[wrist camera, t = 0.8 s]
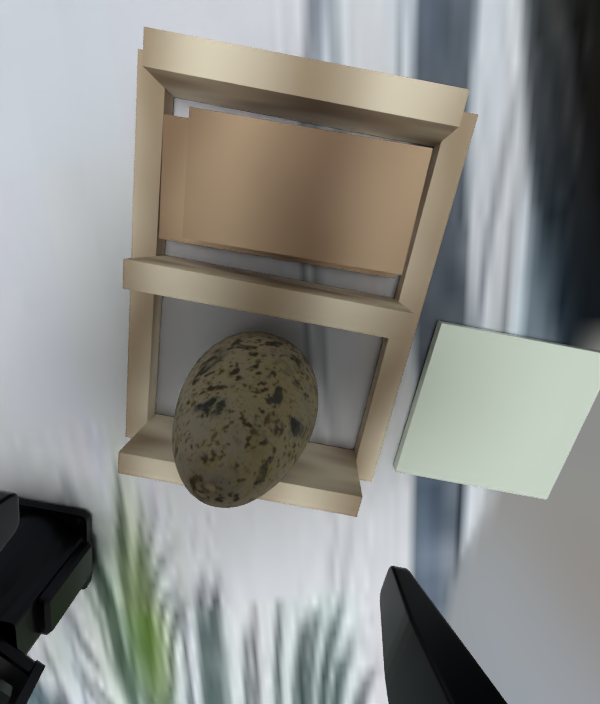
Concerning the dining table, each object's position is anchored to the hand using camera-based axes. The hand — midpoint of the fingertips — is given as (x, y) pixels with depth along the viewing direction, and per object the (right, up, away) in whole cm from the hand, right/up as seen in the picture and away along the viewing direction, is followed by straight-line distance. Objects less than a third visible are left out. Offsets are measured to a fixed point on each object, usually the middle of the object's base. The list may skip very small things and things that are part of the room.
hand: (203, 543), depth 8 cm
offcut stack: (+2, +12, +9) cm, 15 cm away
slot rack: (+1, +7, +10) cm, 12 cm away
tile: (+13, +1, +11) cm, 17 cm away
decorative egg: (0, +4, +11) cm, 12 cm away
